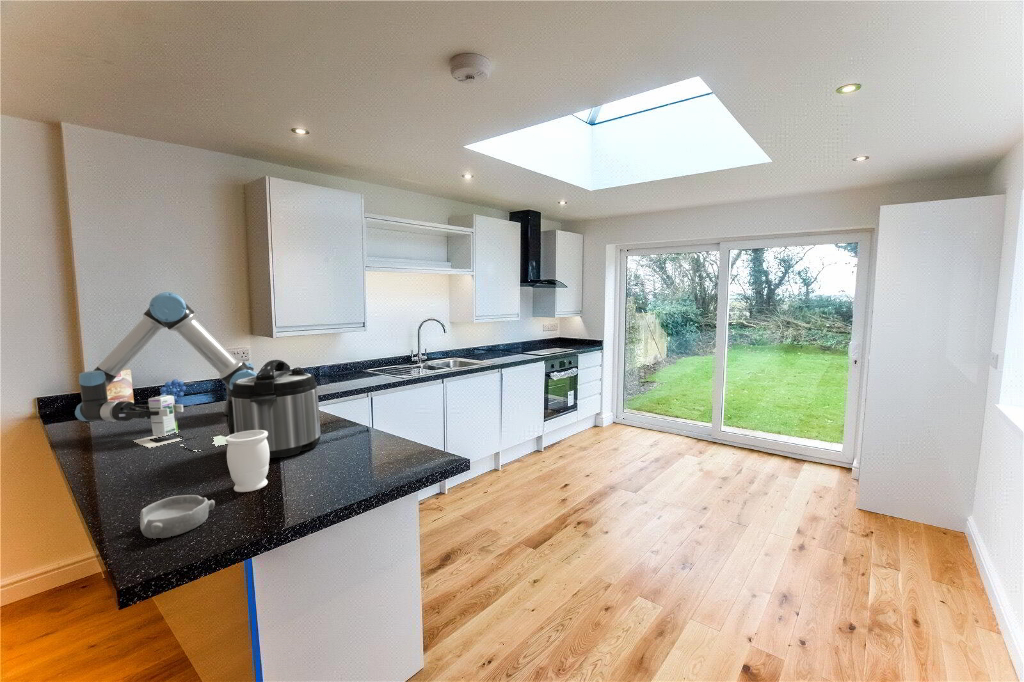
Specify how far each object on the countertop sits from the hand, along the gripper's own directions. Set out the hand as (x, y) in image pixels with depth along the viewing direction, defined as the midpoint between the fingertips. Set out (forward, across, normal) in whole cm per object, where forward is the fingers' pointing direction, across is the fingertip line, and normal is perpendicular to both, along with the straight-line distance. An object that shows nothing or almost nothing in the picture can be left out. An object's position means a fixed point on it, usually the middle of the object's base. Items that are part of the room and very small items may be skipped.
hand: (175, 410), depth 178 cm
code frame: (-5, 0, -11) cm, 12 cm away
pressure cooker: (+47, +12, -12) cm, 50 cm away
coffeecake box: (-75, -48, -11) cm, 90 cm away
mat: (+17, +6, -12) cm, 21 cm away
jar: (+59, +44, -12) cm, 74 cm away
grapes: (-59, -67, -12) cm, 90 cm away
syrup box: (-5, 0, -9) cm, 11 cm away
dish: (+55, +66, -12) cm, 87 cm away
